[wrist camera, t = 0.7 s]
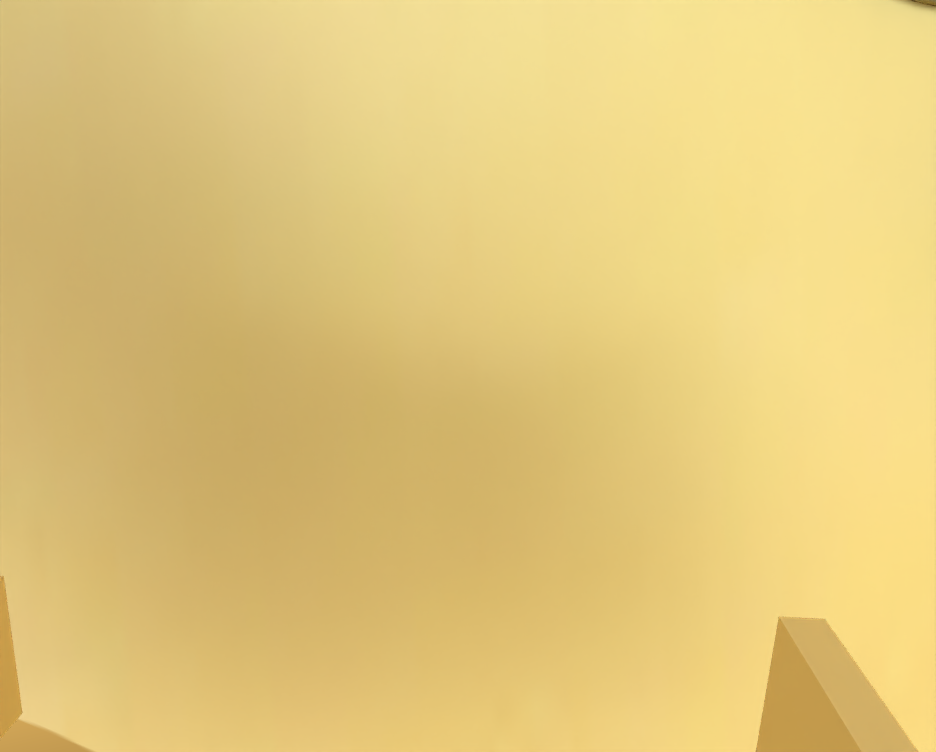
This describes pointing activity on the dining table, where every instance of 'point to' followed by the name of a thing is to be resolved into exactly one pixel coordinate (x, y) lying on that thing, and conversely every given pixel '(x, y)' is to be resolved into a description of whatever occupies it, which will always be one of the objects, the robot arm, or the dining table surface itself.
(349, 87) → the dining table surface
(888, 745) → the robot arm
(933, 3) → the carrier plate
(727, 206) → the dining table surface
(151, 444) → the dining table surface
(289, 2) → the dining table surface
